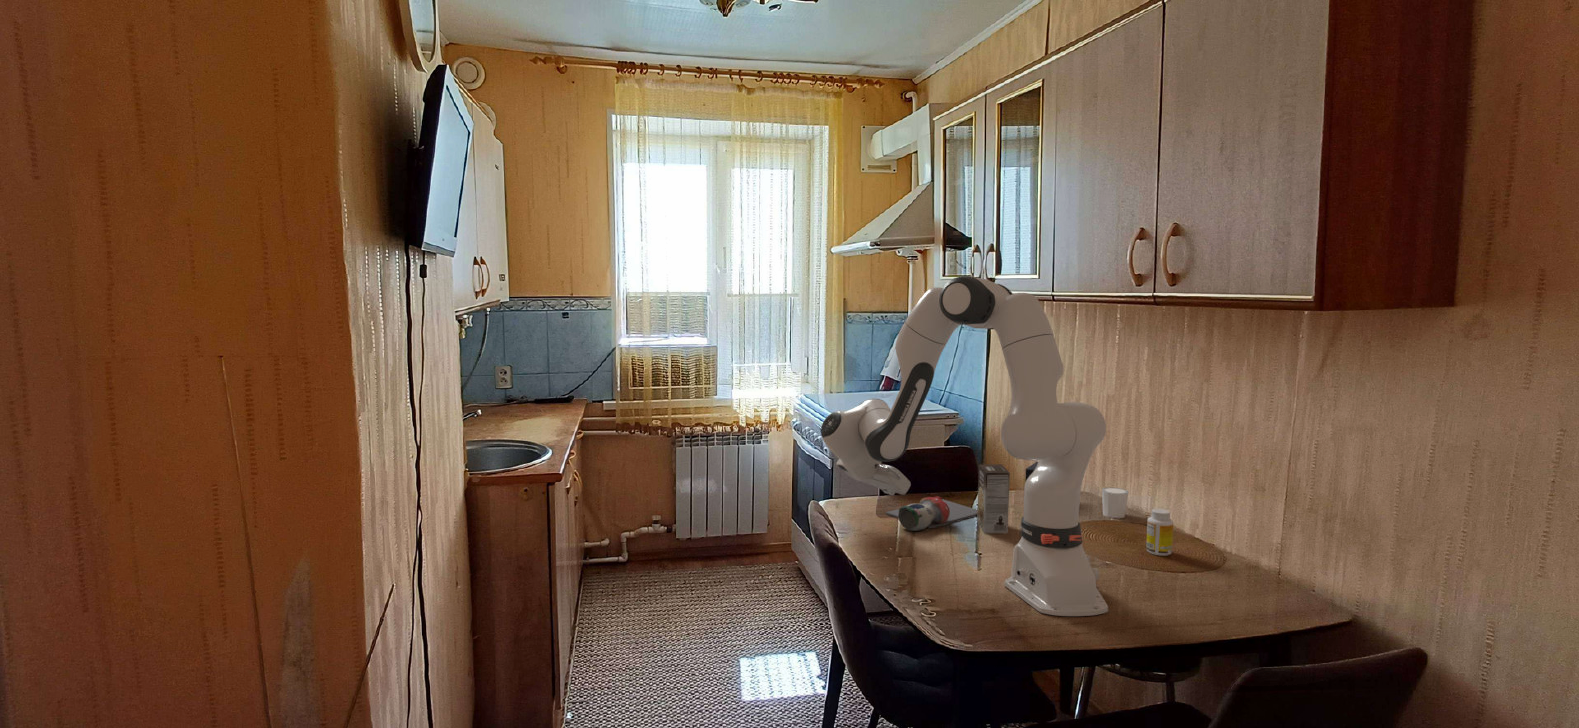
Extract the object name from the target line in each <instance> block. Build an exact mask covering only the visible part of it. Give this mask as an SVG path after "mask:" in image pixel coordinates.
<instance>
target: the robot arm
mask: <svg viewBox="0 0 1579 728" xmlns="http://www.w3.org/2000/svg"><path fill="white" fill-rule="evenodd" d="M1041 304H1042V303H1040V301H1039V299H1038V298H1037V297H1036V296H1035V295H1033V294H1031V293H1027V292H1017V293H1013V292H1012V291H1011V290H1010V289H1009V288H1008V287H1006V286H1004V285H1003V284H1000V283H996V282H993V281H991V280H989V279H986V278H981V277H973V276H971V275H963V276H957V277H954V278H952V279H951V280H949V281H947V282H946V284H944V285H943V287H939V286H937V287H936V286H935V287H932V288H929V289H928V290H926V291H925V292H924V293H923V295H922V296H921V297H920V298H919V300H918V301H917V302H916V304H915V305H914V306H913V308H912V310H911V311H910V313H909V314H908V316H907V318H906V319H905V321H904V323H903V324H902V327H901V328H900V329H899V333H898V335H897V338H896V342H895V353H896V358H897V361H898V365H899V370H900V376H901V377H900V380H901V381H900V388H899V390H898V394H897V396H896V398H895V399H894V402H893V405H892V407H891V408H890V407H889V404H887V403H886V401H884V400H882V399H880V398H870V399H867V400H864V401H862V402H860V404H859V405H857V406H855V407H853V408H851V409H848V410H836V411H833V412H831V413H830V414H829V415H827V416H826V418H824V420H823V422H822V424H821V428H820V435H821V439H822V441H823V443H824V444H825V445H826V447H827V448H828V449H829V450H830V452H831V453H832V454H833V455H834V456H835V457H836V458H838V460H837V462H836V463H835V466H836V467H837V468H839V469H840V470H842V471H843V472H844V473H845V474H846V475H847V476H849V477H850V478H851V479H853V480H855V481H859V482H862V483H864V484H867V485H871V486H874V487H877V488H878V489H880V490H881V491H882V492H883V493H884V494H887V495H890V496H894V495H895V494H899V495H901V496H903V495H904V496H905V495H906V494H907V492H908V491H909V489H910V487H911V486H912V484H911V481H910V480H909V479H908V478H907V477H906V475H904V474H903V473H902V472H901V471H900V470H899V469H898V468H896V467H894V466H892V465H888V464H885V463H888V462H892V461H896V460H898V459H899V458H901V457H902V456H904V454H905V453H906V451H907V449H908V448H909V445H910V440H911V434H912V430H913V427H914V425H915V423H916V420H917V418H918V416H919V413H920V411H921V410H922V407H923V405H924V403H925V400H926V399H927V396H928V393H929V392H930V389H931V386H932V384H933V381H934V376H935V373H936V372H935V371H936V367H937V365H938V362H939V360H940V357H941V355H942V353H943V351H944V349H945V347H946V345H947V344H948V342H949V340H950V338H951V336H952V335H953V333H954V332H955V330H956V329H957V328H958V327H959V326H968V327H970V328H974V329H981V330H982V329H985V330H994V331H995V332H996V334H997V336H998V339H999V340H998V341H999V344H1000V346H1001V347H1000V348H1001V351H1002V354H1003V357H1004V362H1005V365H1006V370H1007V373H1008V377H1009V382H1010V390H1011V394H1010V395H1011V396H1010V397H1011V399H1010V400H1011V401H1010V404H1009V405H1010V406H1009V411H1008V413H1007V415H1006V417H1005V418H1004V420H1003V422H1002V423H1001V427H1000V428H1001V429H1000V439H1001V443H1002V446H1003V448H1004V449H1005V451H1006V452H1007V453H1008V454H1009V455H1010V456H1011V457H1013V458H1014V459H1018V460H1025V461H1035V462H1038V464H1037V467H1036V468H1035V470H1034V472H1033V473H1032V474H1031V475H1030V476H1029V477H1028V479H1027V481H1026V483H1024V488H1023V490H1024V492H1023V494H1024V497H1023V516H1022V517H1021V520H1020V524H1019V525H1020V536H1021V538H1020V539H1019V541H1018V543H1016V544H1015V546H1014V547H1013V550H1012V551H1013V553H1012V560H1011V561H1012V563H1011V571H1010V577H1008V578H1005V579H1004V583H1003V585H1004V587H1006V588H1008V590H1010V591H1011V592H1012V593H1014V594H1015V595H1017V596H1018V597H1019V598H1020V599H1022V600H1023V601H1024V602H1025V603H1027V604H1029V605H1030V606H1031V608H1034V609H1035V610H1036V611H1038V612H1039V613H1042V614H1046V615H1051V616H1059V617H1060V616H1061V617H1085V616H1086V617H1087V616H1088V617H1089V616H1097V615H1101V614H1106V613H1108V612H1109V606H1108V604H1107V603H1106V601H1105V599H1104V598H1103V596H1102V594H1101V593H1100V591H1099V589H1098V588H1097V583H1096V582H1097V580H1099V579H1100V570H1099V568H1097V567H1096V568H1095V567H1092V566H1091V557H1090V556H1089V555H1087V554H1086V551H1085V549H1084V547H1083V545H1082V544H1083V536H1082V535H1083V533H1082V529H1081V528H1082V527H1081V522H1080V521H1079V518H1080V517H1079V516H1080V505H1081V504H1080V501H1081V500H1080V499H1081V491H1082V485H1083V480H1084V477H1085V474H1086V471H1087V468H1088V466H1089V463H1090V461H1091V460H1090V459H1092V457H1093V453H1094V452H1095V450H1096V449H1097V447H1098V446H1099V445H1100V444H1101V443H1102V441H1103V440H1104V439H1105V436H1106V432H1107V424H1106V420H1105V417H1104V416H1103V415H1104V414H1103V413H1102V412H1101V411H1100V410H1099V409H1098V408H1097V407H1095V406H1094V405H1092V404H1088V403H1084V402H1076V401H1070V402H1061V403H1058V398H1057V389H1058V388H1057V387H1058V383H1059V380H1060V379H1061V378H1062V377H1063V375H1064V370H1065V369H1064V368H1065V367H1064V364H1063V360H1062V357H1061V354H1060V351H1059V348H1058V344H1057V342H1056V338H1055V334H1054V332H1053V329H1052V326H1051V323H1050V321H1049V318H1048V317H1047V314H1046V312H1045V310H1044V308H1043V306H1042V305H1041Z"/></svg>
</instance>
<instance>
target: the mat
mask: <svg viewBox="0 0 1579 728" xmlns="http://www.w3.org/2000/svg"><path fill="white" fill-rule="evenodd" d="M941 499H942V501H944V502H945V503H946V504H947V505H948V507H949V510H950V514H949V517H948V519H947V521H946V522H944V523H936V522H932V521H931V523H930V524H929V526H927V527H926V528H925V529H927V530H931V529H930V528H932V529H935V528H938V526H939V527H942V526H945V525H944V524H946V525H949V524H952V522H953V523H956V522H959V521H958V520H960V521H962V520H961V519H963V520H966V518H967V519H969V517H970V518H973V517H972V516H974V517H977V516H976V515H977V511H978V508H977V509H976V508H973V507H969V506H966V505H962V504H960V503H957V502H953V501H950V500H946V499H943V498H941ZM899 509H900V508H897V509H894V510H889V511H886V512H885V515H887V516H890V517H892V518H896V519H898V520H899V517H898V515H899ZM941 525H942V526H941Z"/></svg>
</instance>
